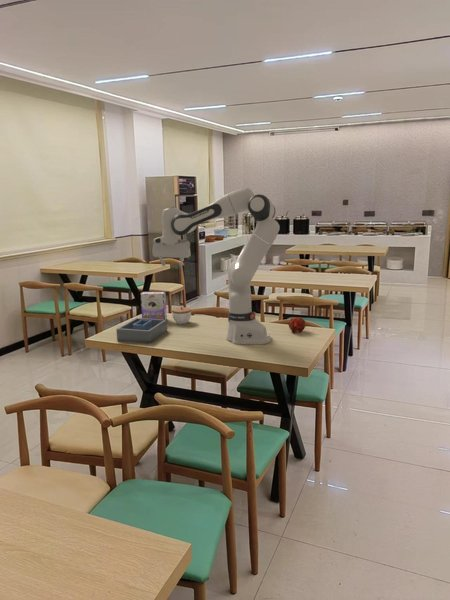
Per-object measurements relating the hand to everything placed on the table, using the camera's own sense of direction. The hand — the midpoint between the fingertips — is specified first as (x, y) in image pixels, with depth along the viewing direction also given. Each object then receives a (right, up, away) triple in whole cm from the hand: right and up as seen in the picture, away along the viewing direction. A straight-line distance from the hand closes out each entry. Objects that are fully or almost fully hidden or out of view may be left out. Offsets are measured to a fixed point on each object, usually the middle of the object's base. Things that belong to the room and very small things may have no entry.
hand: (172, 265), depth 245 cm
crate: (-15, -36, 0) cm, 39 cm away
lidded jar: (+3, -31, +23) cm, 39 cm away
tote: (-15, -35, 0) cm, 38 cm away
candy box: (-14, -30, +30) cm, 44 cm away
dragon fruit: (+65, -35, +2) cm, 74 cm away
